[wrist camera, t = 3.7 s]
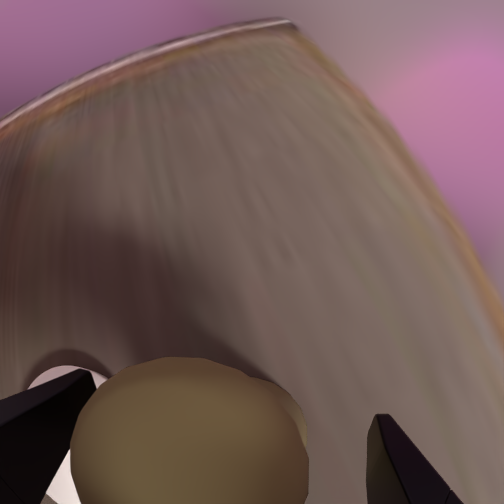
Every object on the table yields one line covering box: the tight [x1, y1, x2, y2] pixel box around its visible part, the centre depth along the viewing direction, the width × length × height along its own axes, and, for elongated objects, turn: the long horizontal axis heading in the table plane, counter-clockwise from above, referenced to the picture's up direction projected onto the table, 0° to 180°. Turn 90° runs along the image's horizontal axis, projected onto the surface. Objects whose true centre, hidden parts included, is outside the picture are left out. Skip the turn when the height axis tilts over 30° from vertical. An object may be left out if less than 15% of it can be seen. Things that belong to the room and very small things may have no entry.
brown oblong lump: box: [70, 357, 309, 504], centre depth 9 cm, size 6×6×11 cm
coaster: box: [28, 366, 108, 504], centre depth 14 cm, size 9×9×1 cm
